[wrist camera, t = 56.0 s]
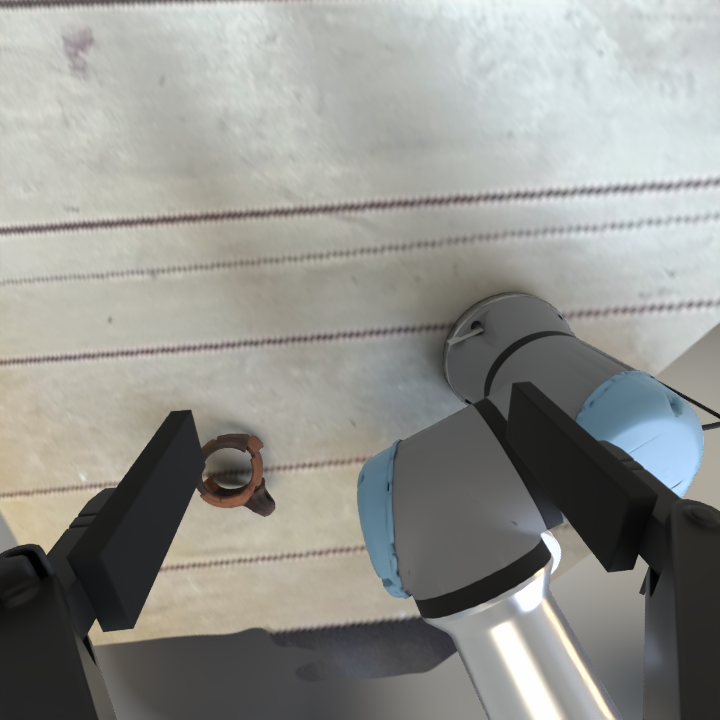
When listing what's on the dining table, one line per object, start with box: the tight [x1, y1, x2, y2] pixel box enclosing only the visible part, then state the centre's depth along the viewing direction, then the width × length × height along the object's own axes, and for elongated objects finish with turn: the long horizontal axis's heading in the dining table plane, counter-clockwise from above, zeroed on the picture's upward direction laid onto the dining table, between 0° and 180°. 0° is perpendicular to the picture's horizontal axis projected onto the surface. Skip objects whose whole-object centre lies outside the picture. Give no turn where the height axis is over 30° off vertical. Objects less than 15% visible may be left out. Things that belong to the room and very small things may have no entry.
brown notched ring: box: [196, 434, 275, 517], centre depth 48 cm, size 12×10×8 cm
